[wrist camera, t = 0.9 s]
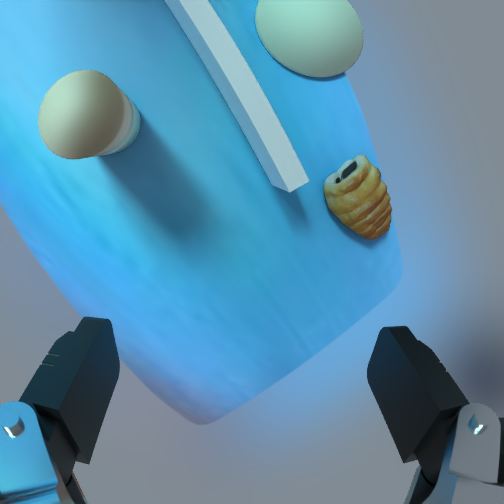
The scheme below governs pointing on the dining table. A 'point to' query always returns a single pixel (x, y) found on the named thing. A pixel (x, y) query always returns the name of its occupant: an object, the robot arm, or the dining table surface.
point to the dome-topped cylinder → (87, 116)
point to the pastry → (359, 197)
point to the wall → (240, 92)
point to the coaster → (310, 35)
